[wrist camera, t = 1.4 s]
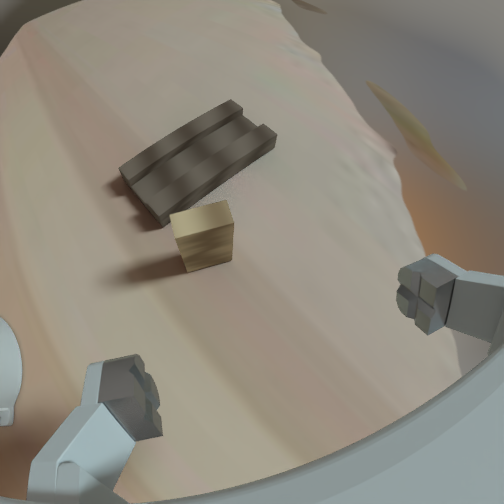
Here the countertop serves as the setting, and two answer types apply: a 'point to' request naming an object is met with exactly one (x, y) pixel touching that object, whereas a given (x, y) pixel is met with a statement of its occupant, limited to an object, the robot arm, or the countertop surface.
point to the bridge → (195, 160)
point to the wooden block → (204, 235)
